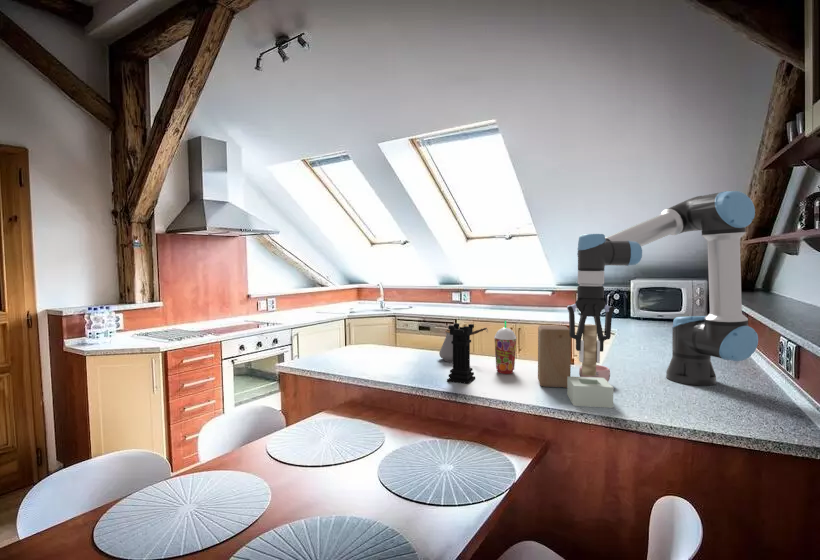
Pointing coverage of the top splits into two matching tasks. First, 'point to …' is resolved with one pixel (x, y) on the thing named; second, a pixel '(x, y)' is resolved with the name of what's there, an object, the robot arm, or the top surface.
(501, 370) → the smoothie
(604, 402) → the socket block
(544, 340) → the wooden block
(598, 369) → the mug
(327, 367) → the top surface
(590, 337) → the birch peg
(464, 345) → the chess piece
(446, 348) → the coffee pot
